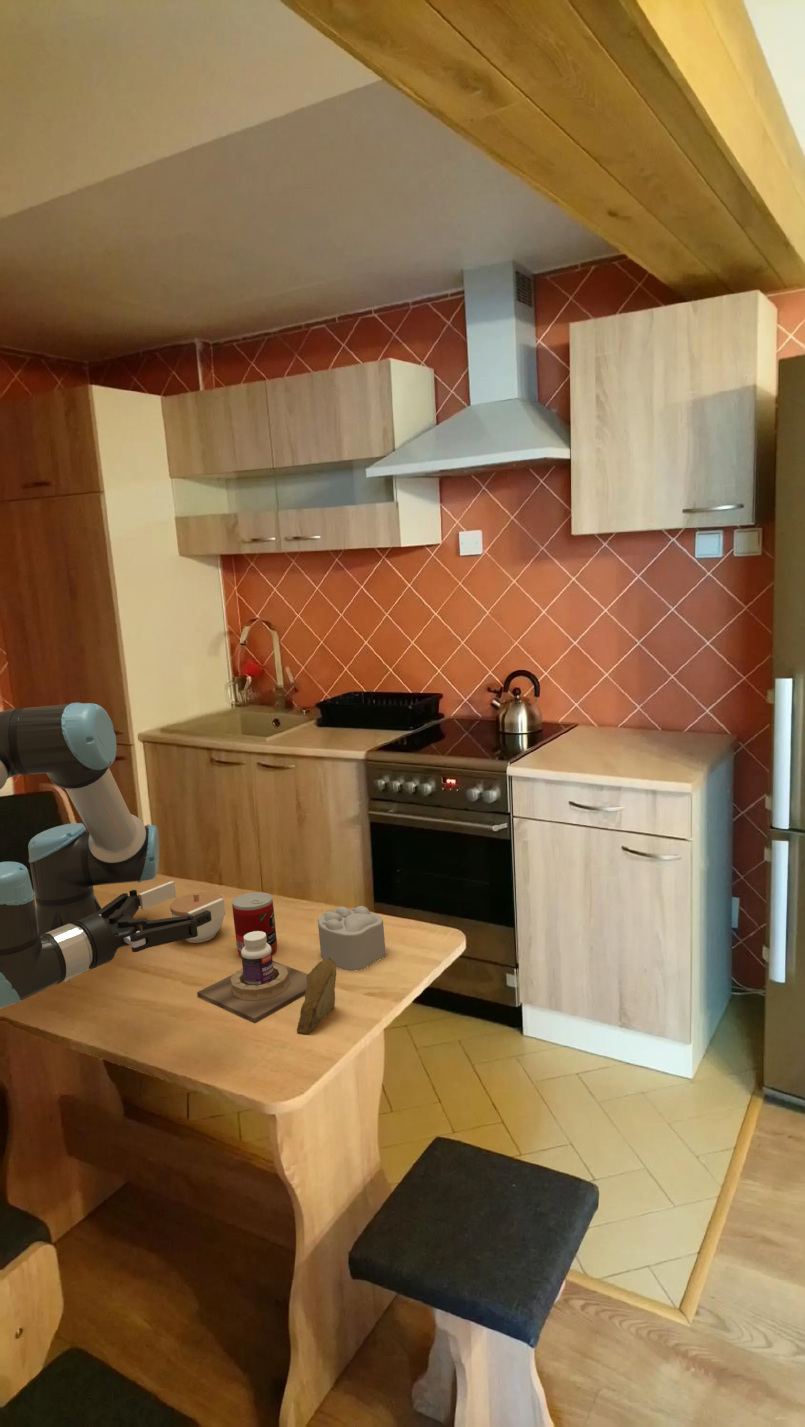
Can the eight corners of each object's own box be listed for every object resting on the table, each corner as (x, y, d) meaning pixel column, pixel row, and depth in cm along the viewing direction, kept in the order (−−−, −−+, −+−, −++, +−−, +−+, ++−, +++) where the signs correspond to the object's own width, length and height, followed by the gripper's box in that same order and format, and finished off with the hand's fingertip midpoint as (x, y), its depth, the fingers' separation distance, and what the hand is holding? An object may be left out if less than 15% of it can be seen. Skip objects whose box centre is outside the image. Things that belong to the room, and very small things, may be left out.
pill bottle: (269, 993, 156) (264, 942, 155) (240, 993, 157) (234, 942, 155) (278, 979, 162) (273, 929, 160) (250, 978, 162) (245, 929, 161)
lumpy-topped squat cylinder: (354, 974, 163) (350, 930, 162) (307, 956, 172) (303, 914, 170) (392, 953, 171) (389, 911, 169) (346, 937, 179) (342, 896, 178)
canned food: (270, 961, 171) (264, 907, 169) (231, 960, 173) (225, 906, 171) (283, 943, 178) (278, 891, 176) (245, 942, 180) (240, 891, 178)
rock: (312, 1031, 140) (359, 998, 147) (284, 984, 142) (331, 954, 148) (288, 1046, 148) (333, 1015, 155) (262, 1001, 150) (307, 972, 156)
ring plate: (197, 996, 159) (195, 981, 158) (266, 961, 171) (264, 948, 170) (254, 1022, 148) (253, 1007, 148) (323, 984, 160) (322, 969, 160)
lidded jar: (210, 950, 178) (204, 906, 176) (164, 945, 181) (158, 902, 180) (236, 927, 188) (231, 885, 186) (192, 924, 191) (187, 882, 189)
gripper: (43, 948, 141) (157, 902, 156) (129, 993, 125) (248, 936, 140) (36, 904, 139) (152, 861, 155) (122, 944, 123) (243, 892, 138)
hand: (198, 897), depth 147 cm, fingers open, 13 cm apart
